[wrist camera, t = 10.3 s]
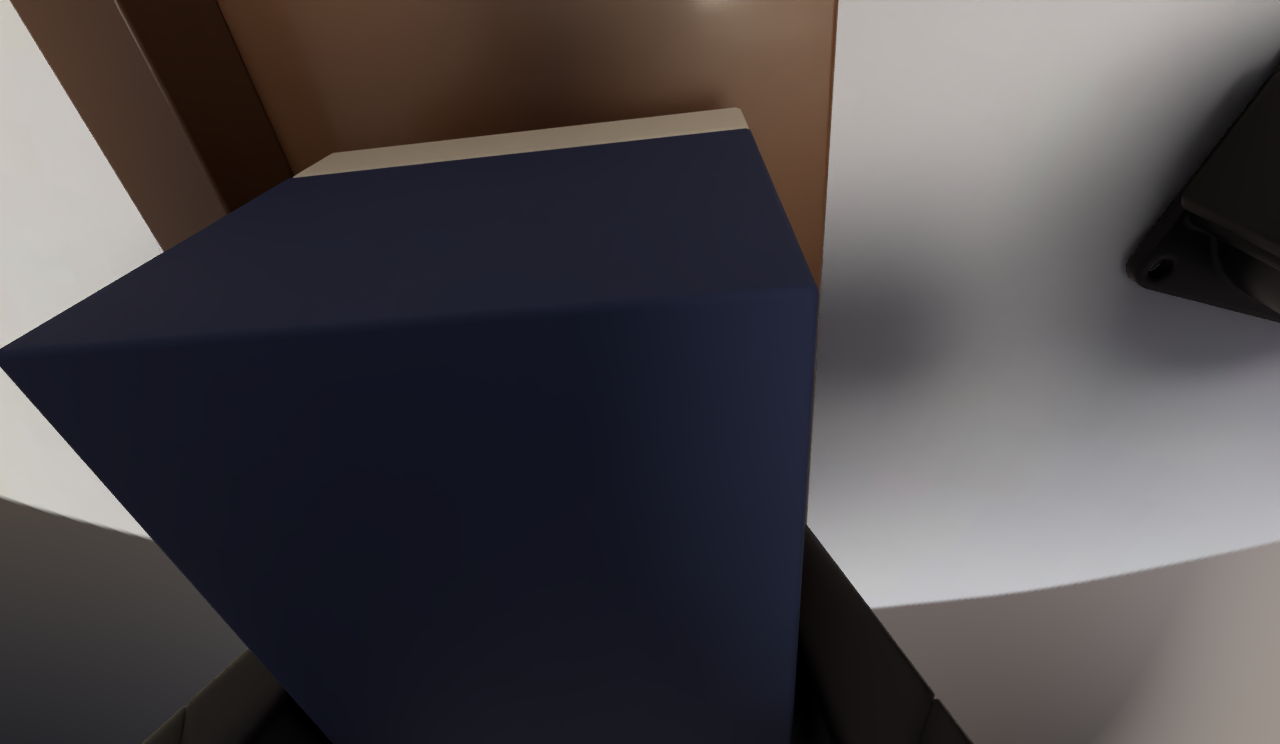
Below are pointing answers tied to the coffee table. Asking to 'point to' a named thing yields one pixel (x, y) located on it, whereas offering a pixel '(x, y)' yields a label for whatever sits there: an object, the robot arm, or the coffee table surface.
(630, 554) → the dark blue rectangular block
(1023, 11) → the coffee table surface
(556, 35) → the sharpening stone holder
